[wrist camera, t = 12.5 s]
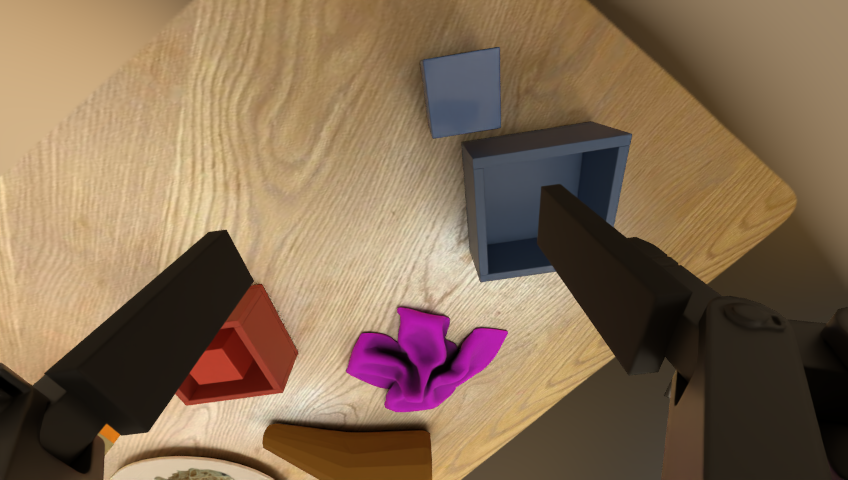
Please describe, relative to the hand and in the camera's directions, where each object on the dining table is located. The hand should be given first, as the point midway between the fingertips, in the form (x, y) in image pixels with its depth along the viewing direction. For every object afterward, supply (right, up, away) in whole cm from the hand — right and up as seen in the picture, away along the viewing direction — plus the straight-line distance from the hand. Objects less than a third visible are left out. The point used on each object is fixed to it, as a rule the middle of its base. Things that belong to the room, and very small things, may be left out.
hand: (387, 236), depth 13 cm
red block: (-21, -11, +23) cm, 34 cm away
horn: (-10, -32, +37) cm, 50 cm away
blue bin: (+11, +5, +17) cm, 21 cm away
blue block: (+4, +12, +12) cm, 18 cm away
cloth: (+2, -16, +28) cm, 33 cm away
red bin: (-21, -11, +24) cm, 34 cm away
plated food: (-39, -46, +44) cm, 75 cm away
